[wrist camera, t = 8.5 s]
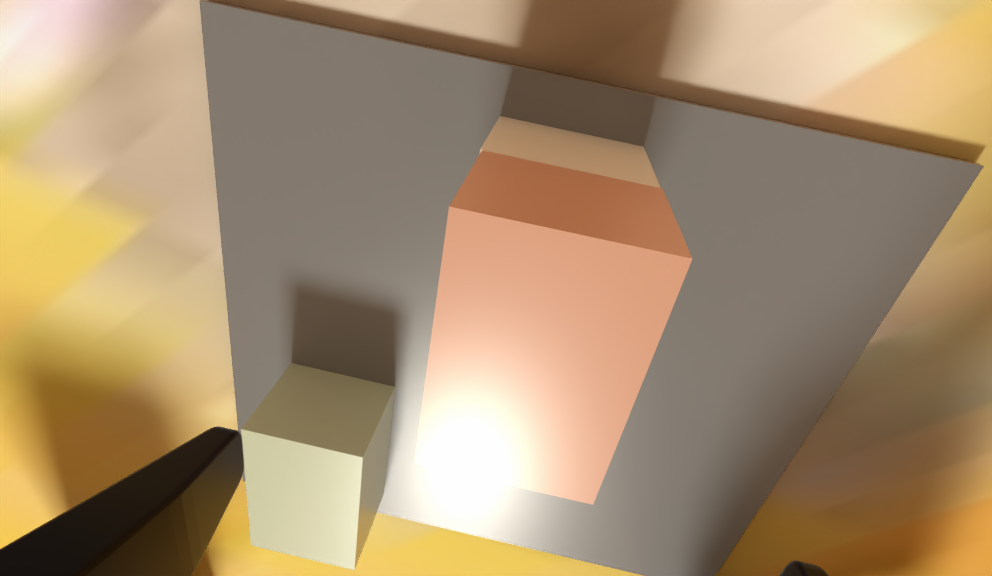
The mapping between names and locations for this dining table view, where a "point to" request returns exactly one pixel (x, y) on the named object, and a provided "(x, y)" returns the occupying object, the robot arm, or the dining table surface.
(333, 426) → the sage brick
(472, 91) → the baseplate
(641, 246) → the terracotta brick
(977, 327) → the dining table surface
